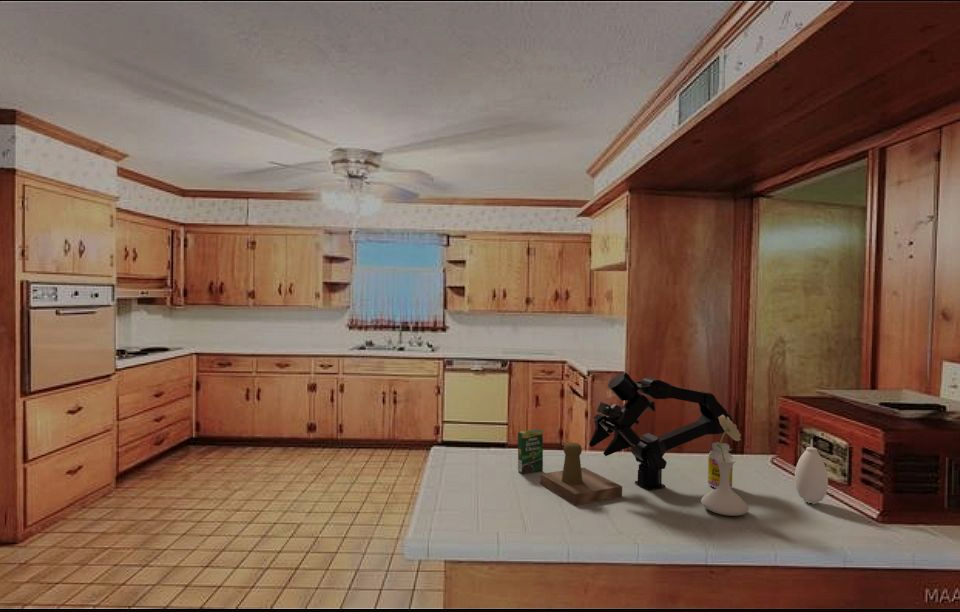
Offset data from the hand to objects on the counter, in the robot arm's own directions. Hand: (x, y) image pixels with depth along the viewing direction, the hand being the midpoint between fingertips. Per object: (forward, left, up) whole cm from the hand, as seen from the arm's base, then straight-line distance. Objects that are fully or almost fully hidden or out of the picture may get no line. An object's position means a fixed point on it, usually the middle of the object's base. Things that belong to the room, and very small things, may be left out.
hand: (597, 450), depth 151 cm
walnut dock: (+5, -2, -11) cm, 13 cm away
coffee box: (+10, -22, -12) cm, 26 cm away
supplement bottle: (-36, +12, -12) cm, 40 cm away
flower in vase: (-22, +25, -12) cm, 36 cm away
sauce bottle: (-49, +31, -12) cm, 60 cm away
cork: (+8, -1, -9) cm, 12 cm away
